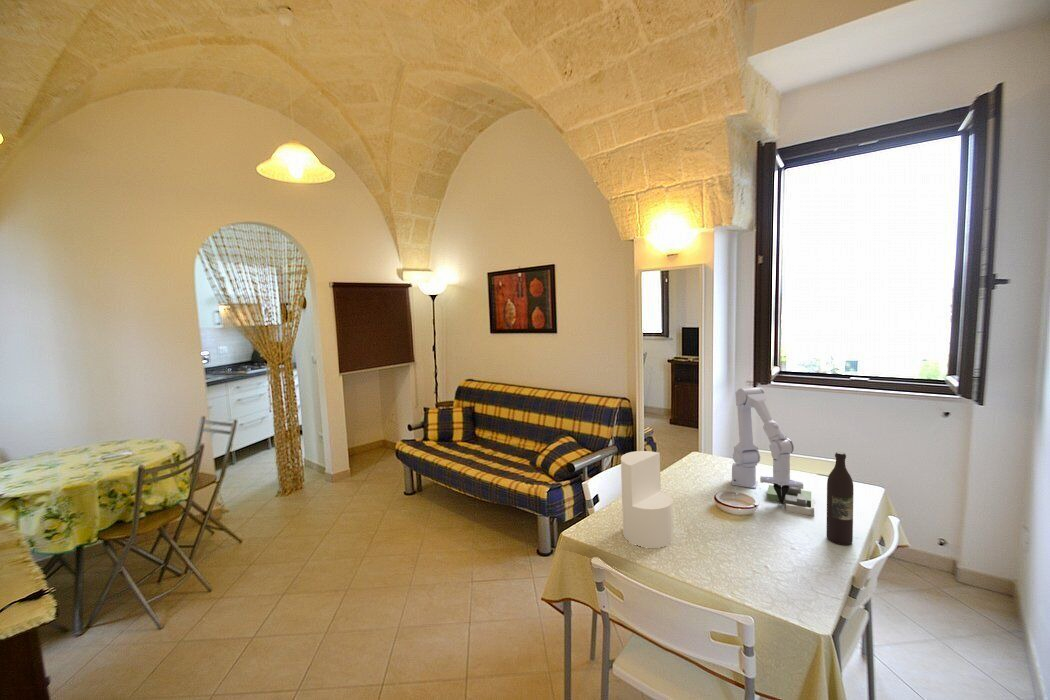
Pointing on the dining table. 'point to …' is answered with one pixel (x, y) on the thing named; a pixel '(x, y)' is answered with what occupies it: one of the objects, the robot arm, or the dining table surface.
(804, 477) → the dining table surface
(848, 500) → the wine bottle
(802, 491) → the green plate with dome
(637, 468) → the white stepped pillar
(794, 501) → the grey stepped block
